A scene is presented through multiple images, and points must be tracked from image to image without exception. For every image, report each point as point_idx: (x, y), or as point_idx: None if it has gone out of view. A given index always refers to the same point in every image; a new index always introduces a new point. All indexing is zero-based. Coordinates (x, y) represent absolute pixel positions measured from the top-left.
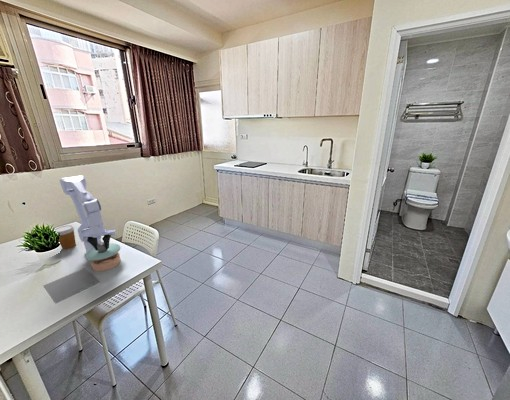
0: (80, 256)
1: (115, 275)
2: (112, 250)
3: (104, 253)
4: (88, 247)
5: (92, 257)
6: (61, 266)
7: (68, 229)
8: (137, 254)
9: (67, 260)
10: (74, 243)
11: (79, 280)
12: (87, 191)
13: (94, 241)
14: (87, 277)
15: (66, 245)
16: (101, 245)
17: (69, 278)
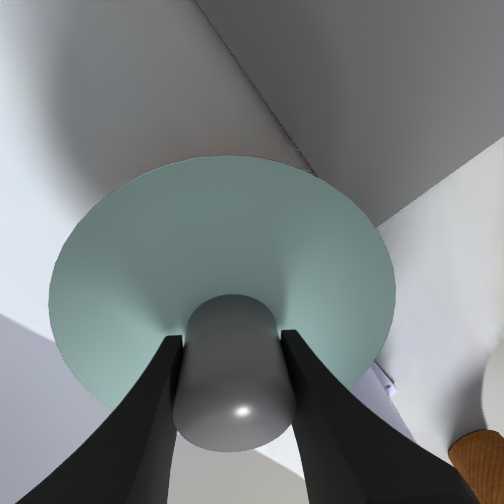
0: (411, 366)
1: (78, 62)
2: (125, 324)
3: (190, 277)
4: (387, 415)
5: (301, 216)
6: (494, 291)
7: None
8: (48, 333)
9: (469, 341)
10: (461, 464)
11: (360, 59)
12: None
13: (326, 464)
14: (309, 90)
15: (497, 452)
16: (212, 378)
17: (437, 119)
